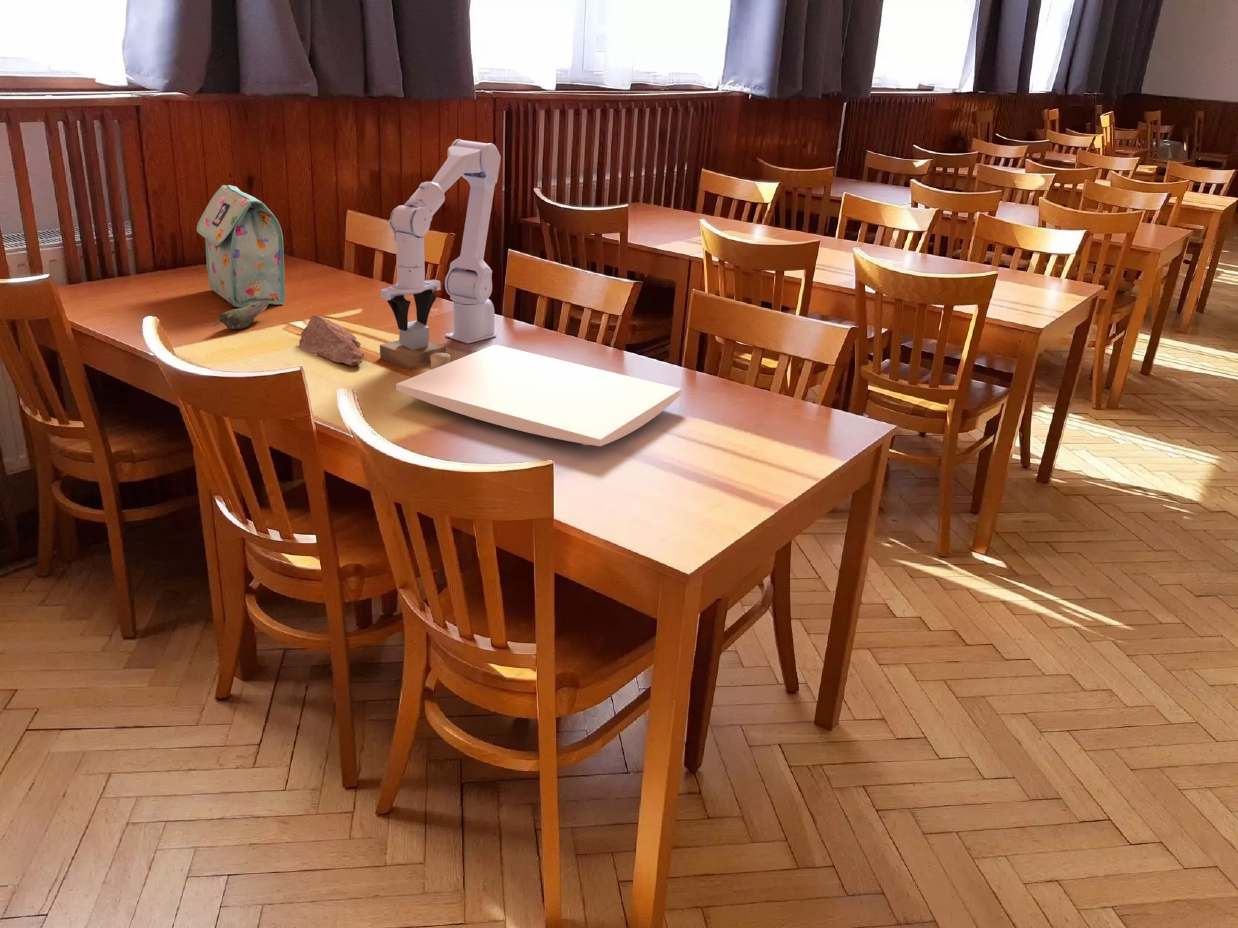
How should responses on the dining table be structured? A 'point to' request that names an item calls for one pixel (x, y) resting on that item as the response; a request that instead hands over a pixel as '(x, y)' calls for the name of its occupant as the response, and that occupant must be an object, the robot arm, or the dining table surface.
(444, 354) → the beech cylinder
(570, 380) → the board
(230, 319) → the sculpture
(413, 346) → the grey cube
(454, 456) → the dining table surface
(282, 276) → the lunch bag
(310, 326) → the rock
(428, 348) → the walnut base
